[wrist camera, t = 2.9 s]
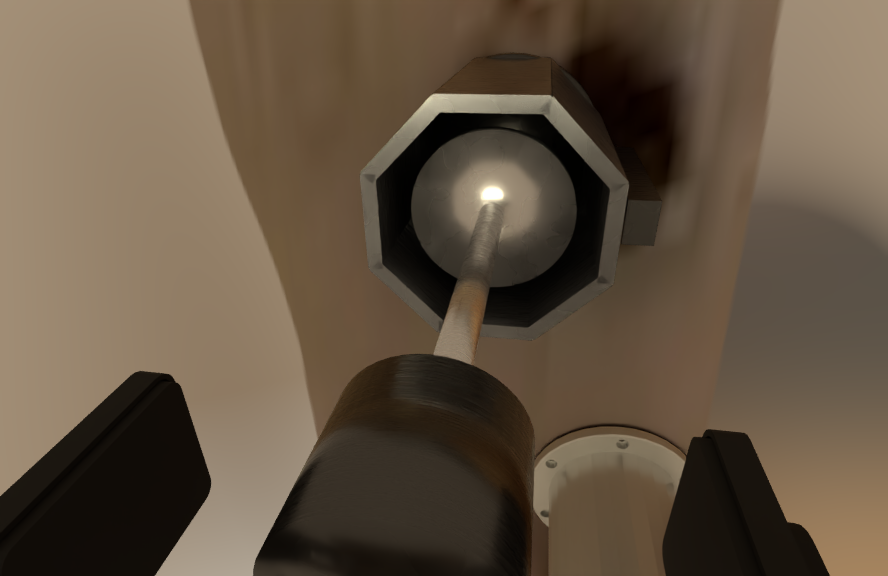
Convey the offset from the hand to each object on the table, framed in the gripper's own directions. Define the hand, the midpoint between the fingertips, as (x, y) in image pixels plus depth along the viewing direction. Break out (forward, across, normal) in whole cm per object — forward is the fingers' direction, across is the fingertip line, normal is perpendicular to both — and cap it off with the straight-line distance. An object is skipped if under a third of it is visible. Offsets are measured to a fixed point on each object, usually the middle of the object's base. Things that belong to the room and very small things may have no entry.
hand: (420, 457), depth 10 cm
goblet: (+14, 0, 0) cm, 14 cm away
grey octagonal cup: (+24, 0, 0) cm, 24 cm away
